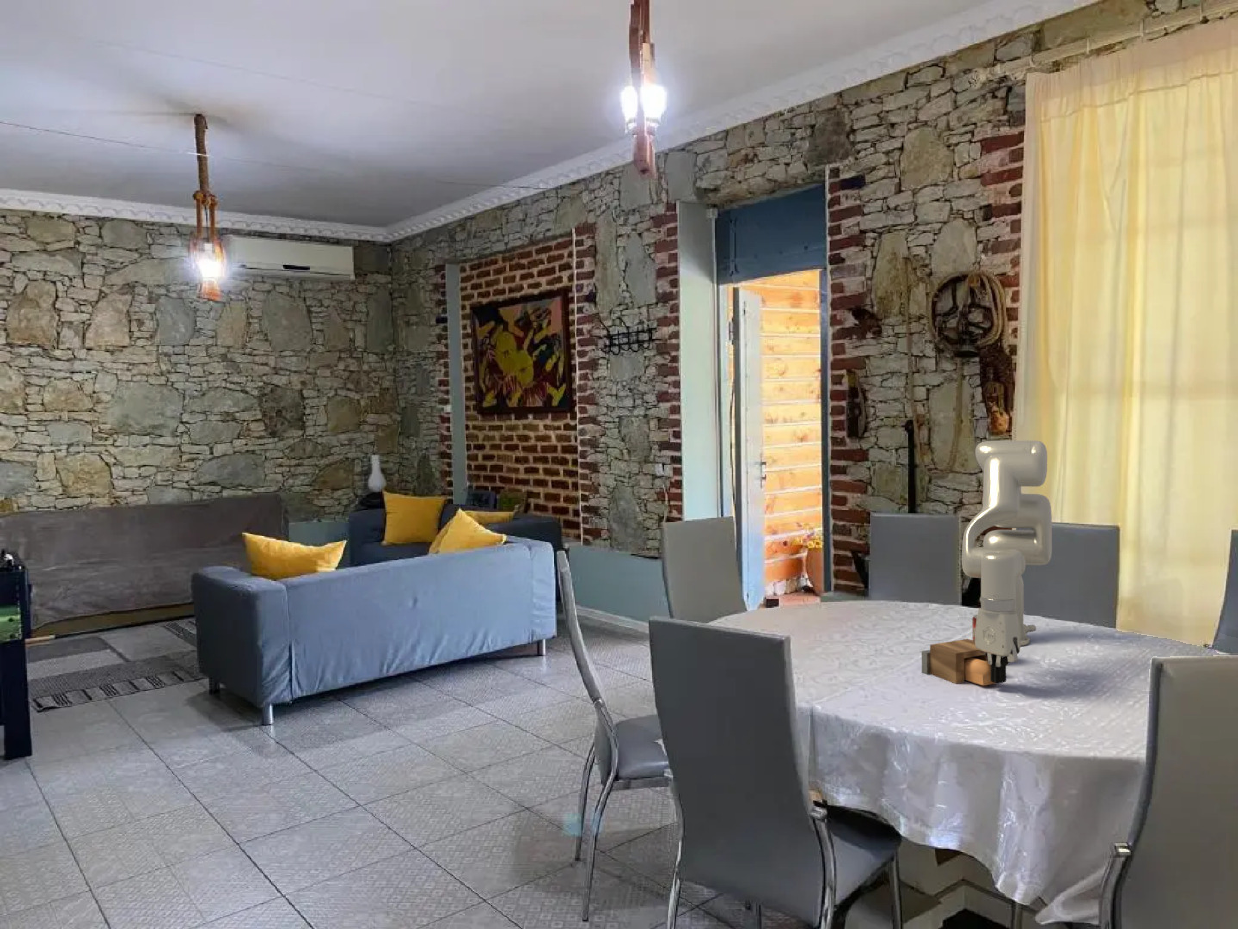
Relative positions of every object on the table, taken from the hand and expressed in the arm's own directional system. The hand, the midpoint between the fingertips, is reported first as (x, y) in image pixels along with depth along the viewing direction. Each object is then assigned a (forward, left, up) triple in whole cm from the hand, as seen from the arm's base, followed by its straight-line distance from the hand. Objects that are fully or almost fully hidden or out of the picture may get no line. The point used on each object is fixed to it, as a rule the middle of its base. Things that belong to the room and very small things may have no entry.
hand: (998, 681), depth 216 cm
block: (-1, -13, -2) cm, 13 cm away
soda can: (-15, -19, -2) cm, 24 cm away
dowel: (0, -8, -2) cm, 8 cm away
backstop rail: (-1, -18, -2) cm, 18 cm away
